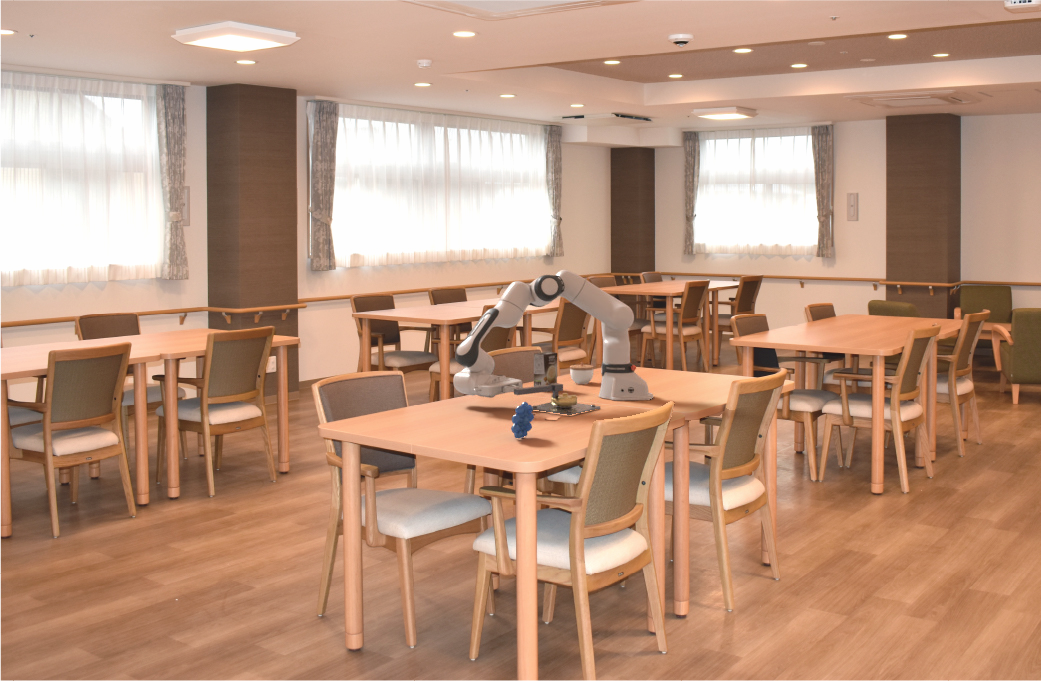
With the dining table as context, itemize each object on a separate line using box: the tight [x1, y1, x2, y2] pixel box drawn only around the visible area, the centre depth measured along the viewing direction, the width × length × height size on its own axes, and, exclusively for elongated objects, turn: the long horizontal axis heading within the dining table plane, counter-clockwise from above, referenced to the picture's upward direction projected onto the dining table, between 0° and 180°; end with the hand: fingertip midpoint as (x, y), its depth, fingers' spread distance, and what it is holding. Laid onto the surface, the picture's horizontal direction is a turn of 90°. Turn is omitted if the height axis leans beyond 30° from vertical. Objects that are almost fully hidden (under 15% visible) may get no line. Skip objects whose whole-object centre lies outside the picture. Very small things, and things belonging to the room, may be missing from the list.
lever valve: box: [513, 382, 578, 406], centre depth 364 cm, size 28×10×8 cm, turn 127°
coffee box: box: [533, 351, 558, 387], centre depth 415 cm, size 9×6×16 cm
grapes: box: [510, 401, 535, 439], centre depth 318 cm, size 12×7×12 cm, turn 146°
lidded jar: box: [569, 361, 595, 385], centre depth 435 cm, size 11×11×9 cm
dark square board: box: [531, 401, 601, 415], centre depth 370 cm, size 20×20×2 cm
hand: (517, 389), depth 362 cm, fingers closed
